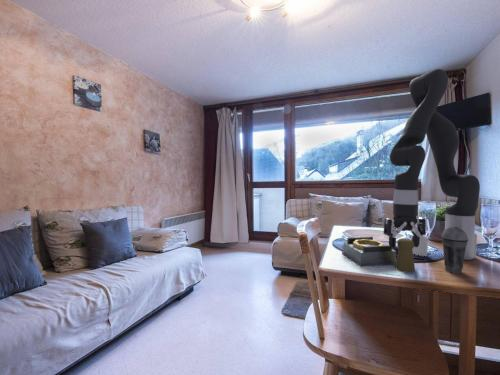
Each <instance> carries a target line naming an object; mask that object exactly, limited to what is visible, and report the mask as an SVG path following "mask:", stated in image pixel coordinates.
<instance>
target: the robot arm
mask: <svg viewBox="0 0 500 375" xmlns="http://www.w3.org/2000/svg"><path fill="white" fill-rule="evenodd" d="M448 85H449V78H448V74H447V73H446V71H444V70H443V69H441V68H436V69H433V70H431V71H428V72H426V73H423V74H422V75H419V76H417V77H415V78H413V79H412V80H411V81H410V82H409V92H410V95H411V99H412V102H413V103H414V105H415V106H414V107H415V110H414V111H413V112H412V113H411V115H410V116H409V117H408V119H407V121H406V123H405V124H404V125H405V126H404V128H403V132H402V135H401V136H400V137H399V139H398V140H397V141H396V143H395V144H394V145H393V147H392V149H391V151H390V154H389V161H390V164H391V165H392V166H395V167H408V169H407V171H404V172H398V173H397V174H395V177H394V190H393V191H394V192H393V200H392V202H393V203H392V204H393V205H392V215H393V218H387V217H386V218H384V223H383V235H385V236H388V245H390V247H392V249H395V248H396V247H397V235H398V234H400V233H402V232H406V231H407V232H410V233H411V234H412V235H411V237H412V241H413V242H414V247H418V245H419V242H420V236H421V235H423V236H426V234H427V232H426V230H427V228H426V226H427V225H426V218H422V217H417V216H418V214H419V191H418V190H419V177H420V174H421V170H422V168H423V165H424V163H425V159H426V151H425V148H424V147H423V146H421V144H422V143H423V142H424V141H425V138H426V137H427V141H428V145H429V147H430V150H431V153H432V155H433V159H434V163H435V166H436V171H437V174H438V179H439V186H440V189H441V192H443V194H445V196H447V197H451V198H453V197H454V198H457V199H456V203H454V204H452V205H448V206H446V207H445V215H444V222H445V223H444V230H446V229H447V228H449V227H452V215H454V227H458V228H460V229H462V230H463V231H464V232H465V233H466V234H467V237H468V242H467V246H466V250H465V256H464V261H465V260H467V261H469V260H471V261H472V260H474V259H476V258H477V243H478V242H477V238H478V235H477V233H475V231H476V211H477V209H478V207H479V199H480V191H481V190H480V189H481V188H480V186H481V185H480V180H479V179H478V178H477V176H475V175H471V174H457V171H456V168H455V164H454V163H455V158H456V154H457V152H458V150H459V146H460V138H459V134H458V132H457V128H456V126H455V124H454V123H453V122H452V121H451V120H449V119H448V118H446V116H444V115H443V114H441V113H440V112H438V111H437V107H438V106H439V105H440V103H441V101H442V99H443V97H444V95H445V93H446V91H447V89H448ZM413 235H414V236H413Z"/></svg>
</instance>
